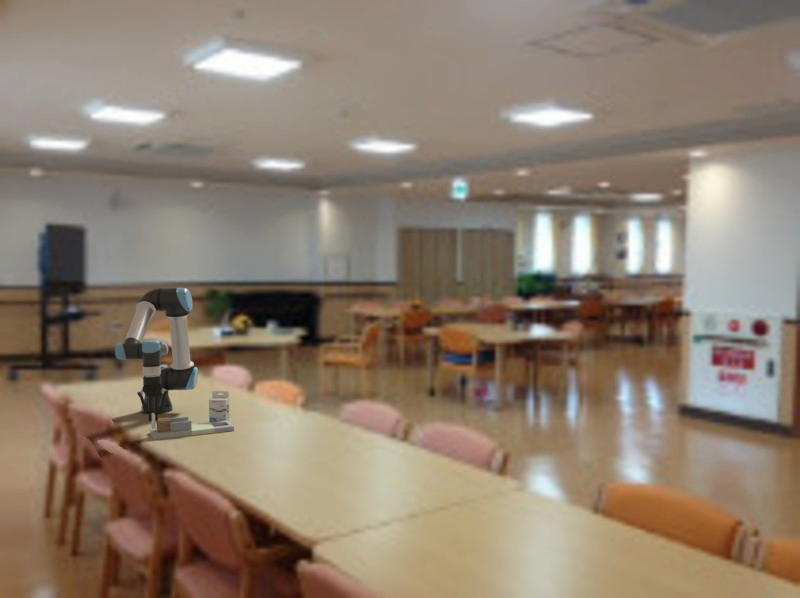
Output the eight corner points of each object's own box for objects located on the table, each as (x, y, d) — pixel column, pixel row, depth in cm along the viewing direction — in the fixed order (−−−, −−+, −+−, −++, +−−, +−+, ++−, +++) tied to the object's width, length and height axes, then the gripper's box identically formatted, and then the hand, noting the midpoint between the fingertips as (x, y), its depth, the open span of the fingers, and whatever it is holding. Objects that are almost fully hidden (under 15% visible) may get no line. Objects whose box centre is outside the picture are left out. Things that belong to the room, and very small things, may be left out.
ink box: (208, 423, 343) (207, 392, 342) (212, 421, 348) (211, 390, 347) (226, 423, 342) (225, 393, 341) (229, 421, 347) (229, 391, 346)
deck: (150, 432, 326) (149, 419, 326) (228, 424, 341) (227, 411, 340) (153, 439, 314) (152, 426, 314) (233, 430, 329) (233, 417, 329)
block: (156, 429, 324) (156, 418, 324) (170, 428, 326) (170, 417, 326) (158, 432, 318) (157, 421, 318) (172, 431, 321) (172, 420, 320)
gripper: (137, 377, 313) (138, 431, 314) (168, 375, 318) (169, 428, 320) (135, 375, 320) (137, 427, 321) (166, 373, 325) (167, 424, 326)
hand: (153, 428), depth 320 cm, fingers closed
